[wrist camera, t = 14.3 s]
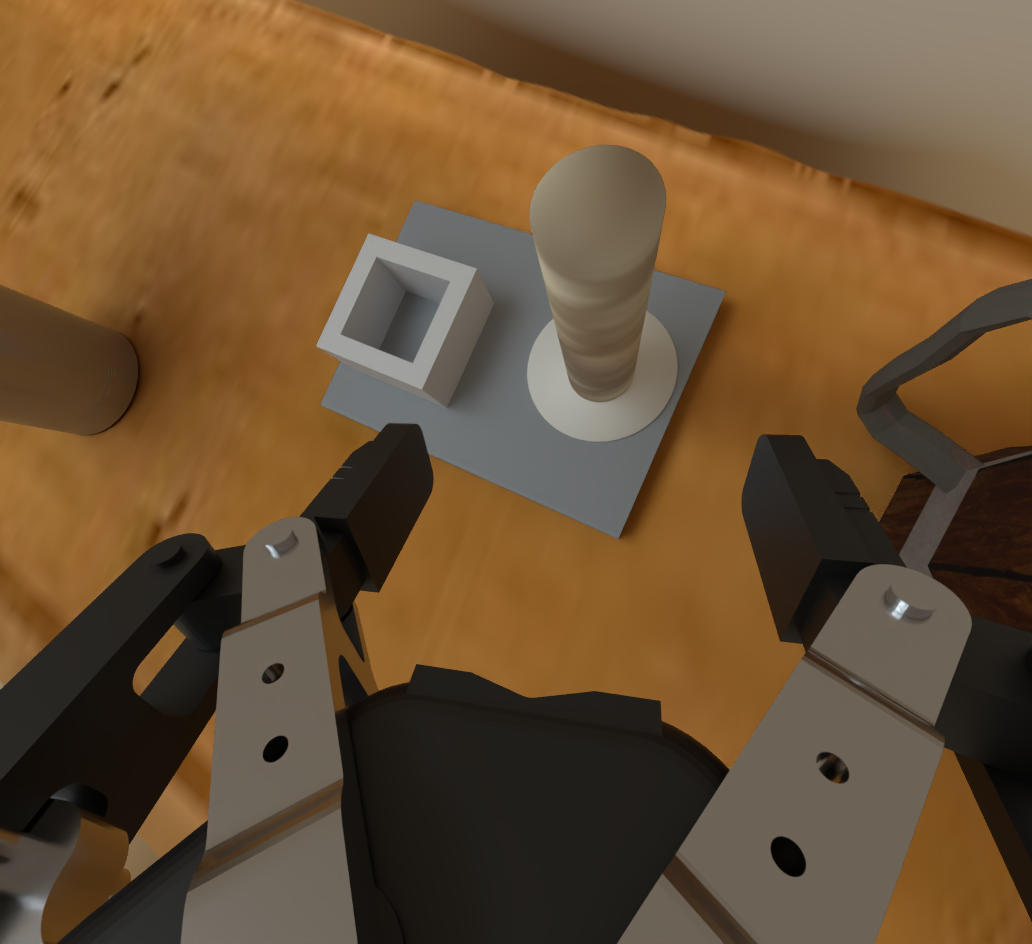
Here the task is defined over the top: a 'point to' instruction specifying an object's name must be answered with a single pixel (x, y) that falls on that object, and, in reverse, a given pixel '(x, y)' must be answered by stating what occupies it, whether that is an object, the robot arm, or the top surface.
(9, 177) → the top surface
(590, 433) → the board
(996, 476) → the mug
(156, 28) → the top surface
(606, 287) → the peg
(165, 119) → the top surface
